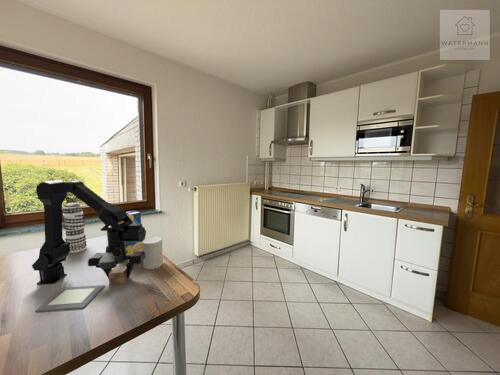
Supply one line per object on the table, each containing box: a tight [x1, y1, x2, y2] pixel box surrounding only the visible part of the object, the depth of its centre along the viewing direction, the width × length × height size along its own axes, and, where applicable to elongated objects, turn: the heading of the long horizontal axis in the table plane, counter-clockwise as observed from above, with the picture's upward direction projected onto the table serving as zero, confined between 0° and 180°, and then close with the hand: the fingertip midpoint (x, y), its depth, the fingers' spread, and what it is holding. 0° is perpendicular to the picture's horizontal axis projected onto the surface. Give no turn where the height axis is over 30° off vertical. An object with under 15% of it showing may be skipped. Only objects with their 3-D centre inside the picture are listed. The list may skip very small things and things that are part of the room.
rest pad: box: [34, 284, 106, 313], centre depth 72 cm, size 14×12×1 cm
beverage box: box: [118, 210, 143, 263], centre depth 102 cm, size 7×11×22 cm, turn 145°
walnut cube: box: [108, 265, 129, 286], centre depth 82 cm, size 5×5×5 cm
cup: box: [142, 236, 164, 270], centre depth 95 cm, size 8×8×12 cm
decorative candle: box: [62, 202, 88, 254], centre depth 110 cm, size 9×9×25 cm
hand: (119, 278), depth 83 cm, fingers open, 6 cm apart
